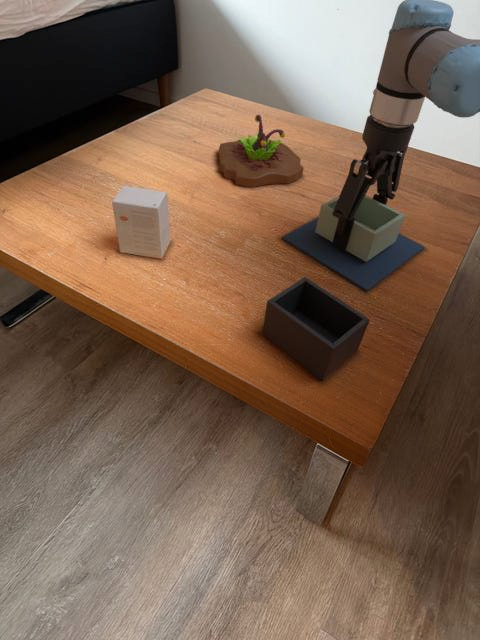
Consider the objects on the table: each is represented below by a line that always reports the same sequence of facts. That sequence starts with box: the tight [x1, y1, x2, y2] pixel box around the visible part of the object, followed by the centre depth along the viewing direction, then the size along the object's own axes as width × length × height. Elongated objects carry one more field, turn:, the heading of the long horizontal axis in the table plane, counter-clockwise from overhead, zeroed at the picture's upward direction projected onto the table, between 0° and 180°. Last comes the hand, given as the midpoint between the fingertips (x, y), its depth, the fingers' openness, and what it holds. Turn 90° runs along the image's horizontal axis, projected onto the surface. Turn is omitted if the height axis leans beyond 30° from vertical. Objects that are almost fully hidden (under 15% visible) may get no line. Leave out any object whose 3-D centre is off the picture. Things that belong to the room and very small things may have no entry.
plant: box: [218, 114, 305, 188], centre depth 104 cm, size 20×20×11 cm
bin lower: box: [261, 276, 371, 382], centre depth 66 cm, size 12×8×7 cm
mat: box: [281, 216, 425, 293], centre depth 88 cm, size 20×20×1 cm
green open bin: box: [315, 194, 406, 262], centre depth 85 cm, size 12×10×6 cm
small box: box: [111, 185, 171, 260], centre depth 79 cm, size 8×6×10 cm
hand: (355, 236), depth 87 cm, fingers closed on green open bin, 10 cm apart
